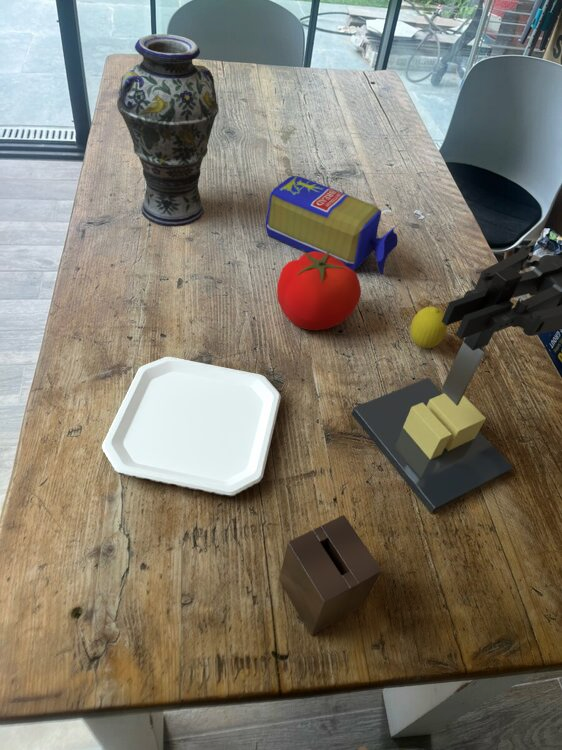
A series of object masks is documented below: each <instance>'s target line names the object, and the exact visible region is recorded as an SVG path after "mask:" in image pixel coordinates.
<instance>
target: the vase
mask: <svg viewBox="0 0 562 750" xmlns="http://www.w3.org/2000/svg"><path fill="white" fill-rule="evenodd" d="M134 50H135V51H136V52H137V53H138V54H139V55H140V56H142V57H143V58H142V61H140V62H139V63H137V64H136V65H134V66H133V67H132V68H131V69H130V70H129V71H126V73H125V74H123V75H122V77H121V83H120V86H119V90H118V98H117V100H116V106H117V110H118V112H119V114H120V115H121V117H122V118H123V121H124V122H125V125H126V128H127V130H128V132H129V136H130V138H131V140H132V144H133V152H134V154H135V155H136V156H137V157H138V159H139V161H140V163H141V166H142V175H143V177H144V179H145V184H146V188H145V194H144V198H143V202H142V204H141V205H142V206H141V214H142V216H143V217H144V218H145V219H146V220H147V221H149V222H151V223H153V224H156V225H159V226H163V227H182V226H187V225H190V224H193V223H195V222H197V221H198V220H199V219H201V218H202V217H203V215H204V211H205V209H204V205H203V203H202V198H201V195H200V189H199V181H200V177H201V167H202V164H203V160H204V158H205V157H206V155H207V153H208V149H209V148H208V144H209V142H210V141H209V140H210V137H211V133H212V130H213V126H214V123H215V120H216V117H217V115H218V114H219V104H218V101H217V92H216V86H215V79H214V76H213V73H212V71H210V69H209V68H208V67H206V66H205V65H200V64H199V65H197V64H193V60H195V59H196V58H198V57H199V56H200V53H201V50H200V47H199V46H198V45H197V43H195V42H194V41H193V40H191V39H189V38H187V37H184V36H180V35H176V34H175V35H174V34H168V33H154V34H148V35H145V36H142V37H140V38H139V39H138V40H137V41H136V43H135V46H134Z"/></svg>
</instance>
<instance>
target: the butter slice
mask: <svg viewBox="0 0 562 750" xmlns="http://www.w3.org/2000/svg"><path fill="white" fill-rule="evenodd" d="M403 428H404V429H405V430H406V432H407V433H408V434H409V435H410V436H411V437H412V439H413V440H414V441H415V442H416V443H417V445H418V446H419V447H420V448H421V449H422V450H423V452H424V453H425V454H426V455H427V456H428V457H429V459H432V458H435V457H437V456H439V455H441V454H442V452H443V450H444V448H445V446H446V444H447V442H448V441H449V439H450V437H451V435H452V434H451V433H450V432H449V431H448V430H447V428H446V427H445V426H444V425H443V424H442V423H441V422H440V421H439V420H438V419H437V417H436V416H435V415H434V414H433V413H432V412H431V411H430V410H429V409H428V408H427V406H426V405H425V404H424V403H423V402H422V403H420V404H418V405H415V406H413V407H411V410H410V412H409V414H408V417H407V419H406V422H405V424H404V426H403Z"/></svg>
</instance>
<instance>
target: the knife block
mask: <svg viewBox="0 0 562 750" xmlns="http://www.w3.org/2000/svg"><path fill="white" fill-rule="evenodd" d="M382 573H383V569H382V568H381V566H380V565H379V563H378V562H377V560H376V559H375V557H374V556H373V555H372V553H371V552H370V549H368V547H367V546H366V544H365V542H363V540H362V538H361V537H360V536H359V534H358V532H356V530H355V528H354V527H353V526H352V524H351V523H350V521H349V520H348V519H347V517H346V516H345V514H342V515H339V516H338V517H336V518H335V519H332V520H330V521H328V522H326V523H324V524H322V525H320V526H318V527H316V528H314V529H311V530H309V531H308V532H305V533H304V534H301V535H299V536H297V537H295V538H293V539H291V540H289V541H287V544H286V547H285V552H284V557H283V560H282V565H281V569H280V573H279V576H278V577H279V578H278V580H279V582H280V584H281V586H282V588H283V589H284V591H285V593H286V595H287V597H288V598H289V600H290V602H291V603H292V605H293V607H294V609H295V610H296V612H297V614H298V615H299V617H300V619H301V621H302V623H303V624H304V626H305V629H306V630H307V632H308V633H309V635H310V636H311V637H312V636H314V635H315V634H317V633H320V632H321V631H323V630H325V629H326V628H328V627H329V626H332V625H333V624H335V623H337V622H339V621H340V620H342V619H344V618H346V617H347V616H349V615H350V614H352V613H354V612H356V611H358V610H359V609H361V608H363V607H364V606H365V604H366V603H367V601H368V599H369V597H370V595H371V594H372V592H373V589H374V588H375V585H376V584H377V582H378V581H379V578H380V576H381V575H382Z"/></svg>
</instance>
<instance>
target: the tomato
mask: <svg viewBox="0 0 562 750" xmlns="http://www.w3.org/2000/svg"><path fill="white" fill-rule="evenodd" d="M330 250H331V249H330ZM330 250H329V251H328V252H327V254H325V253H321V252H316V251H314V252H310V253H306V252H305V251H304V250H302V249H301V250H300V251H302V252H303V253H302V255H301V256H300V257H299V258H298V259H293V260H291V261H289V262H287V263H286V264H285V265H284V266H283V267H282V269H281V272H280V276H279V279H278V281H277V286H276V296H277V302H278V305H279V306H280V308H281V311H282V312H283V314H284V316H285V317H286V318H287V319H288V320H289V321H290V322H291V324H292V325H294V326H295V327H297V328H300V329H304V330H309V331H319V330H328V329H330V328H333V327H335V326H337V325H340V324H342V323H343V322H345V321H346V320H347V319H348V318H349V317H350V316H351V314H353V312H354V311H355V309H356V307H357V306H358V304H359V302H360V299H361V293H362V288H361V284H360V279H359V277H358V275H357V272H356V271H355V270H351V269H350V268H349V267H347V266H346V265H345V264H344V263H343V262H342V261H340V260H338V259H337V258H335V257H333V256H331V255H330V254H329V252H330Z"/></svg>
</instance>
